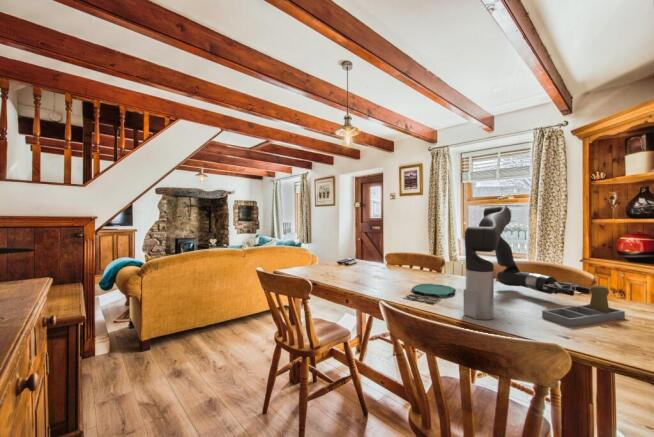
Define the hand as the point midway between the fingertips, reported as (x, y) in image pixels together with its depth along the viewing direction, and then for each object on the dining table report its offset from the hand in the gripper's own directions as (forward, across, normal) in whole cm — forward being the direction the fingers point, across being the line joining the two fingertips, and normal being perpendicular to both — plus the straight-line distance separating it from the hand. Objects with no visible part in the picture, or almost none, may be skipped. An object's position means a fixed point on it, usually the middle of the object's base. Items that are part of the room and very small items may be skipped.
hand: (581, 292), depth 115 cm
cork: (+6, 0, +7) cm, 9 cm away
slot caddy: (+6, -9, +7) cm, 13 cm away
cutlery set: (-38, -42, +8) cm, 57 cm away
